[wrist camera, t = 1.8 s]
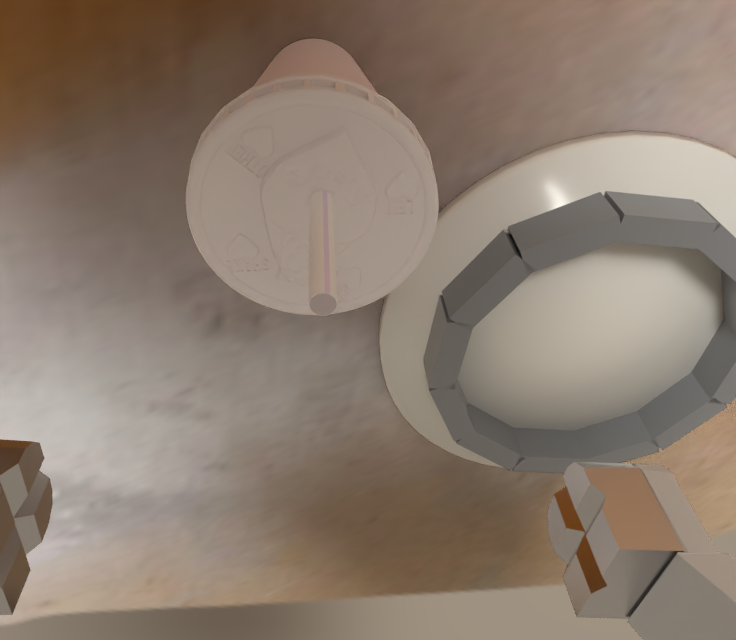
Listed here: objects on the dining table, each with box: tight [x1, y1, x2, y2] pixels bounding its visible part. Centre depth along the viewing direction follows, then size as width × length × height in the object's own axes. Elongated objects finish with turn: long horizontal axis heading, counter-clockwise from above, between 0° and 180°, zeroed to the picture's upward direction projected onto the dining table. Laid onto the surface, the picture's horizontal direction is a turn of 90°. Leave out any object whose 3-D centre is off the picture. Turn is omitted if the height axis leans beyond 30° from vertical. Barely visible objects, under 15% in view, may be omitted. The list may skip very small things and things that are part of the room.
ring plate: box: [379, 131, 736, 473], centre depth 30 cm, size 20×20×3 cm
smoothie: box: [186, 39, 439, 316], centre depth 18 cm, size 6×6×14 cm
